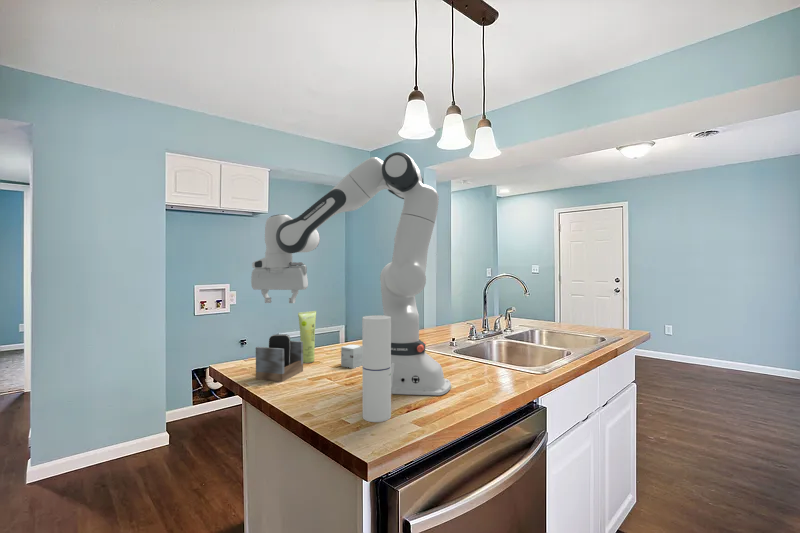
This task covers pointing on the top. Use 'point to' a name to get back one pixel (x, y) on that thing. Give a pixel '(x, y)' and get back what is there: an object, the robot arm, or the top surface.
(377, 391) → the cylindrical container
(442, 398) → the top surface
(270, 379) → the cradle
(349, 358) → the skincare box
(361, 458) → the top surface
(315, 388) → the top surface
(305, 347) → the tube
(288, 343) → the battery
